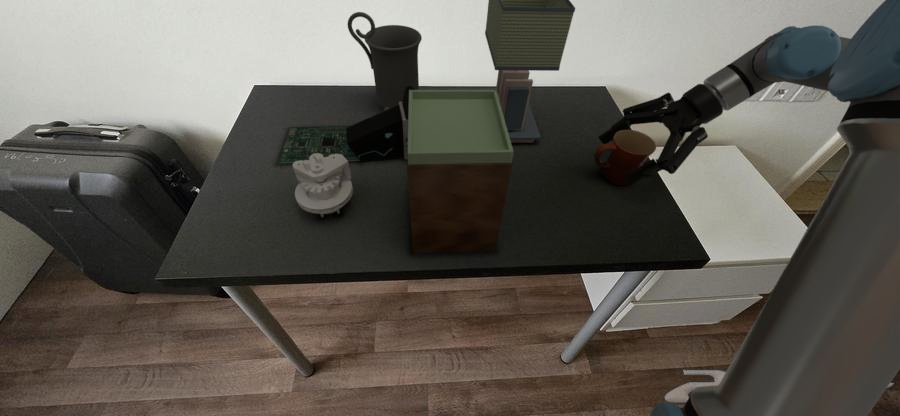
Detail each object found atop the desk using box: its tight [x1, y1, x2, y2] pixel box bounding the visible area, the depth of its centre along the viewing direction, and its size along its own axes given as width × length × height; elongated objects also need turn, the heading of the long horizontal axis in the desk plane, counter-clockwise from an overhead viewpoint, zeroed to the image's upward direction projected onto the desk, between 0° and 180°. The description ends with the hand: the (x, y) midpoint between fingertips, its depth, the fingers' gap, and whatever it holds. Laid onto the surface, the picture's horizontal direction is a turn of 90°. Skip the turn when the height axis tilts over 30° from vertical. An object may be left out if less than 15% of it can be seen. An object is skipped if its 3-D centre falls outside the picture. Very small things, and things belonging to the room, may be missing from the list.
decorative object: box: [346, 86, 415, 162], centre depth 83 cm, size 8×18×15 cm, turn 102°
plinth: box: [406, 103, 514, 255], centre depth 67 cm, size 16×18×22 cm
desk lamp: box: [484, 0, 576, 144], centre depth 86 cm, size 18×14×33 cm
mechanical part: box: [292, 153, 354, 218], centre depth 72 cm, size 11×12×12 cm
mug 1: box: [347, 11, 423, 112], centre depth 93 cm, size 19×15×25 cm
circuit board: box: [278, 125, 361, 164], centre depth 90 cm, size 14×20×1 cm
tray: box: [408, 89, 515, 165], centre depth 59 cm, size 15×17×2 cm
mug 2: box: [593, 129, 657, 186], centre depth 82 cm, size 12×9×10 cm
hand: (612, 160), depth 82 cm, fingers open, 13 cm apart
